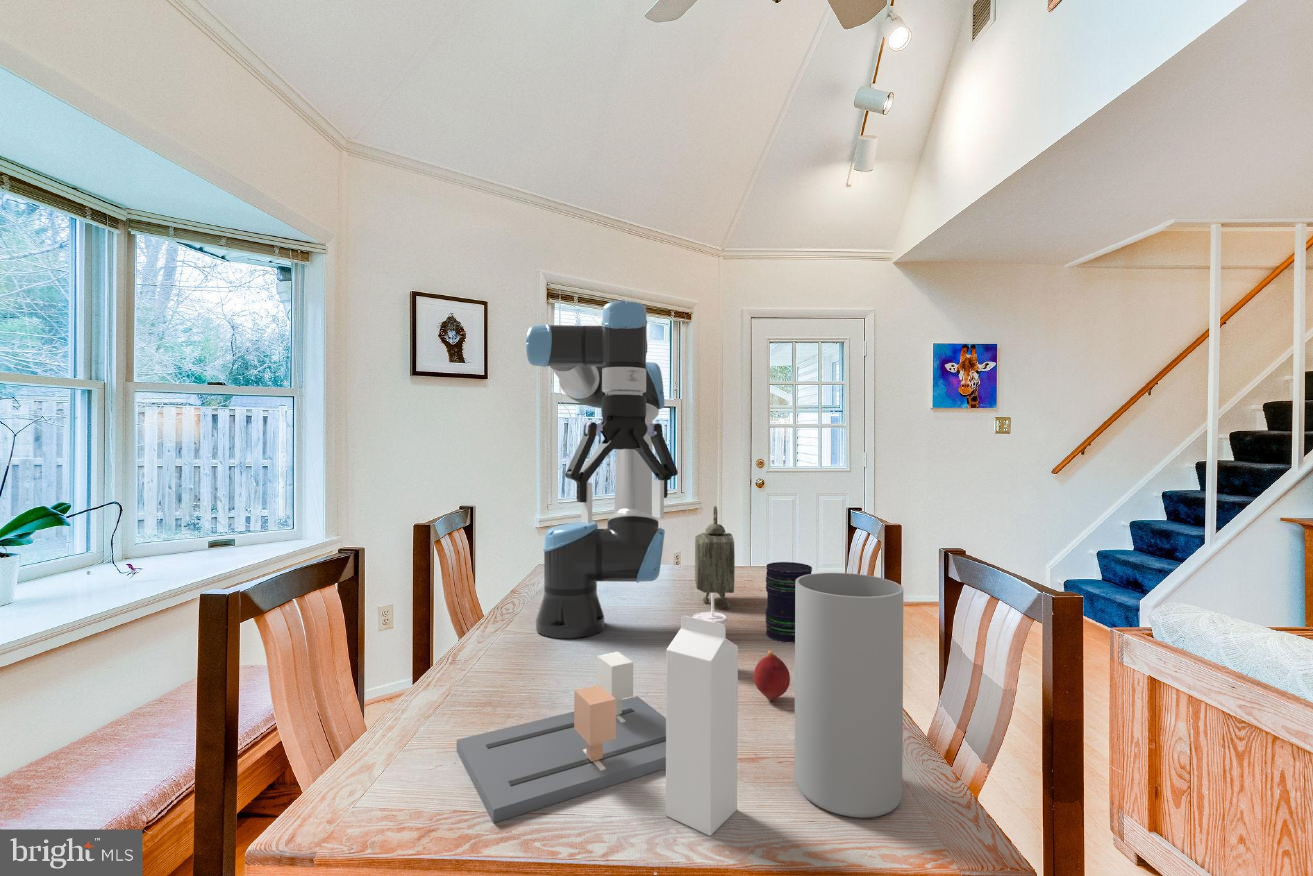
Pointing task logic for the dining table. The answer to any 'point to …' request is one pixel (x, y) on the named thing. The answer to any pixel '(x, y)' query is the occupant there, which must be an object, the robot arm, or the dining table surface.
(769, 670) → the onion
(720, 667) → the milk
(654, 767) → the console
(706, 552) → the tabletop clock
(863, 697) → the cylinder vase
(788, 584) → the storage jar
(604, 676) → the block
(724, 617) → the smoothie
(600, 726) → the fader
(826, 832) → the dining table surface
